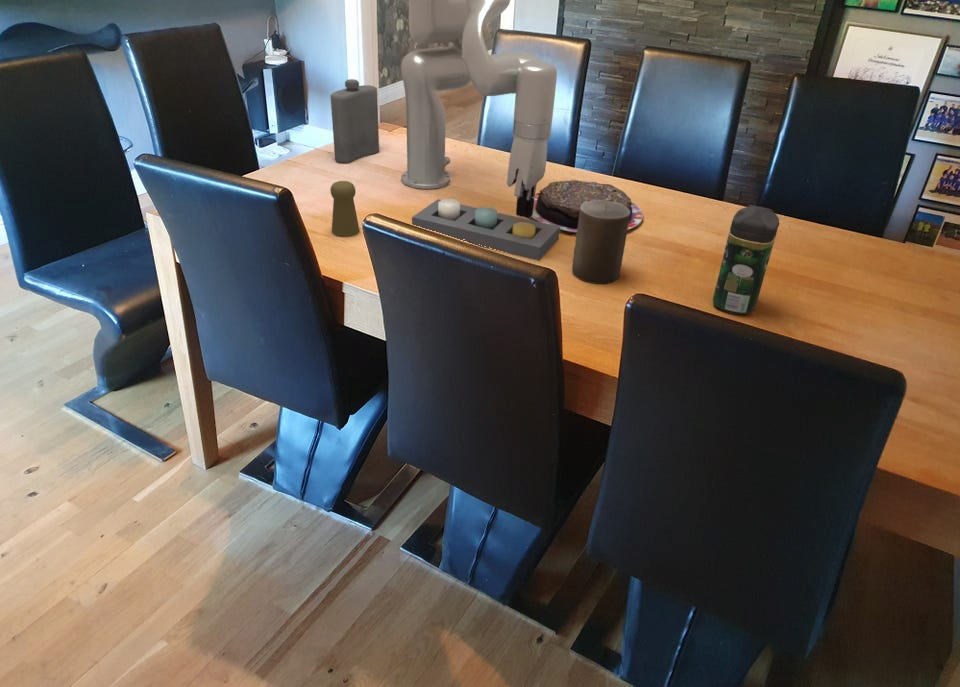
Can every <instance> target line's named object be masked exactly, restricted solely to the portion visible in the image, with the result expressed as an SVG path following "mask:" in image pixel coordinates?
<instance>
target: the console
mask: <svg viewBox="0 0 960 687" xmlns="http://www.w3.org/2000/svg"><path fill="white" fill-rule="evenodd" d="M441 200H442V199H439V198H437V199H436V200H435V201H434V202H431V204H429V205H428V206H426V207H424V208H423V209H421V210H420V211H418V212H417V213H416V214H415V215H413V216H412V217H411V225H412V224H413V225H416V226H420V227H422V228H425V229H429V230H432V231H436V232H439V233H442V234H445V235H448V236H451V237H454V238H457V239H460V240H463V239H465V240H463V241H467V242H469V243H472V244H475V245H474V246H476V245H478V247H480V246H481V245H482V248H484V246H486V247H485V249H490V248H492V249H490V250H493V251H497V250H499V251H498V252H501V251H503V252H502V253H505V252H507V253H506V254H509V253H510V255H513V256H518V257H521V258H527V259H530V260H533V261H540V260H541V259H542V258H543V257H544V256H545V254H547V252H548V251H549V250H550V249H551V248H552V247H553V246H554V245H555V244H556V243H557V242H558V241H559V238H560V232H561V231H560V227H559V226H555V225H551V224H546V223H542V222H537V221H535V220H534V219H532V220H531V219H529V218H525V217H520V216H519V217H518V216H514V215H511V214H510V215H509V214H506V213H500V212H497V226H496V227H495V228H494V229H493V230H492V229H487V228H483V227H479V226H475V210H476V209H478V208H479V207H475V206H470V205H467V204H461V203H460V217H459V218H458V219H457V220H456V221H453V220H449V219H445V218H440V217H438V202H439V201H441ZM519 222H527V223H531V224H533V225H534V226H535V227H536V228H535V236H534V237H533V238H532V239H530V238H526V237H521V236H517V235H513V234H512V233H513V225H514V224H515V223H519ZM472 244H471V245H472ZM479 244H480V245H479ZM489 247H490V248H489ZM494 249H496V250H494Z"/></svg>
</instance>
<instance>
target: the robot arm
mask: <svg viewBox="0 0 960 687" xmlns="http://www.w3.org/2000/svg"><path fill="white" fill-rule="evenodd" d="M510 3H511V0H408V30H409V35H410V37H411V40H413V41H415V42H416V43H418V44H423V45H424V44H425V45H431V44H432V45H433V44H444V43H448V46H446V47H432V48H422V49H417V50H416V49H415V50H412V51H410V52H408V53H407V54H406V55H405V56H404V58H403V59H402V62H401V77H402V81H403V87H404V95H405V110H406V111H405V112H406V113H405V114H406V159H407V160H406V161H407V163H406V165H407V168H406V169H407V170H405V171H404V172H403V173H401V182H402V183H403V184H404V185H406V186H409V187H411V188H414V189H415V188H416V189H420V190H421V189H422V190H424V189H425V190H430V189H432V190H433V189H439V188H444V187H446V186H447V185H449V184H450V183H451V181H452V180H451V178H452V177H451V174H450V173H449V172H447V171H446V166H447V165H449V164H450V163H451V158H450V157H449V156H446V121H447V120H446V119H447V118H446V108H445V105H444V104H443V102H442V100H441V99H440V98H439V97H438V96H439V95H438V94H437V93H438V92H442V91H449V90H450V91H451V90H456V89H457V90H458V89H462V88H463V89H464V88H466V87H468V86H469V85H470V83H472V86H473V87H474V89H475V90H476V91H477V92H478V94H480V95H483V96H484V97H496V96H504V95H511V94H512V95H513V94H514V95H515V96H514V98H515V99H514V109H513V111H514V112H513V124H512V136H513V141H512V144H511V148H510V154H509V160H508V167H507V168H508V169H507V177H506V185H507V187H512V186H513V185H515V188H514V192H513V196H515V197H516V210H515V211H516V212H515V215H516V217H518V216H519V217H520V218H525V219H531V216H532V215H533V207H534V198H532V197H534V196H535V194H536V192H537V184H538V183H539V182H540V181H541V180H542V179H543V178H544V177H545V172H546V166H547V159H548V157H547V156H548V141H549V140H550V139H551V137H552V136H551V133H552V125H553V115H554V107H555V96H556V87H557V80H558V72H557V71H558V70H557V68H556V66H555V65H554V64H552V63H550V62H547V61H542V60H541V59H540V58H538V56H536V55H535V54H533V53H531V52H527V51H520V52H519V51H518V52H507V53H506V52H505V53H496V54H494V53H493V54H489V51H488V49H487V45H486V43H485V39H484V33H483V32H484V25H485V24H487V23H488V22H490V21H492V20H494V19H496V18H497V17H498V16H500V15H501V14H502V13H504V11H505V10H506V9H507V8H509V5H510Z"/></svg>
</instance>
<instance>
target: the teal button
mask: <svg viewBox="0 0 960 687" xmlns="http://www.w3.org/2000/svg"><path fill="white" fill-rule="evenodd" d="M477 208H478V209H476V210H475V226H479V227H483V228H487V229H492V230H493V229H494V228H495V227H496V226H497V213H498V210H497V209H495V208H493V207H487V206H483V207H477Z"/></svg>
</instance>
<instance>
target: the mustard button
mask: <svg viewBox="0 0 960 687" xmlns="http://www.w3.org/2000/svg"><path fill="white" fill-rule="evenodd" d="M535 228H536V227H535V226H534V225H533V224H531V223H527V222H519V223H515V224H514V225H513V233H512V234H513V235H517V236H521V237H526V238H530V239H532V238H533V237H534V236H535Z"/></svg>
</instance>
